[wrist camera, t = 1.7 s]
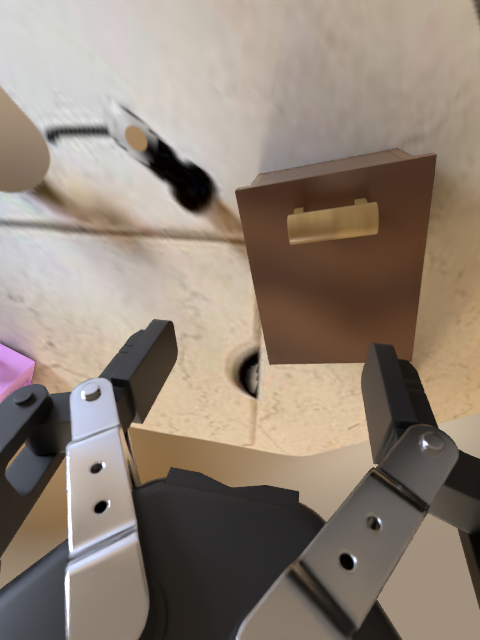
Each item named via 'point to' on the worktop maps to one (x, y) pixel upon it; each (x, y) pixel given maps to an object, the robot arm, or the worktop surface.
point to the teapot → (14, 371)
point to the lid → (339, 259)
